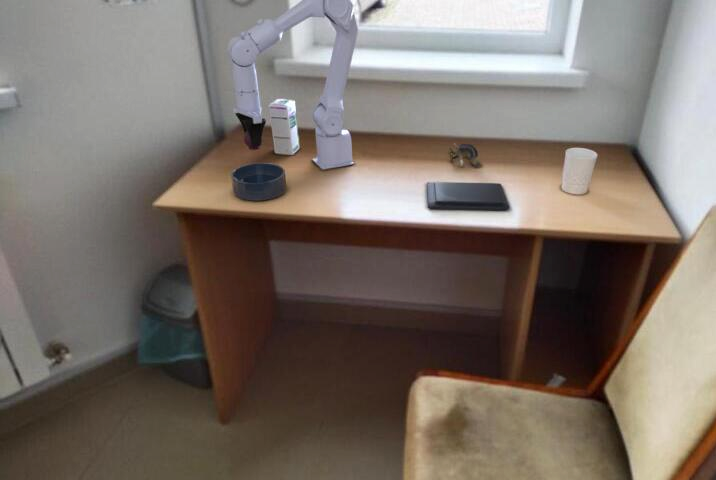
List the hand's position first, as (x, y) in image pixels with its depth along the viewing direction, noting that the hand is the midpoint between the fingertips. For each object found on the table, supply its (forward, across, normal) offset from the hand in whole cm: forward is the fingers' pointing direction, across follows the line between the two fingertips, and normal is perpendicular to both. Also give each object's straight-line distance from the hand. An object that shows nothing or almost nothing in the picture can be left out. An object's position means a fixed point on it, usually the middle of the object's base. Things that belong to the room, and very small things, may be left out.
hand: (253, 142), depth 146 cm
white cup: (+9, +46, +71) cm, 85 cm away
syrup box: (+9, -12, +12) cm, 19 cm away
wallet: (+9, +38, +43) cm, 58 cm away
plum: (+1, 0, 0) cm, 1 cm away
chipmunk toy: (+9, +19, +54) cm, 58 cm away
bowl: (+8, +12, -3) cm, 15 cm away
